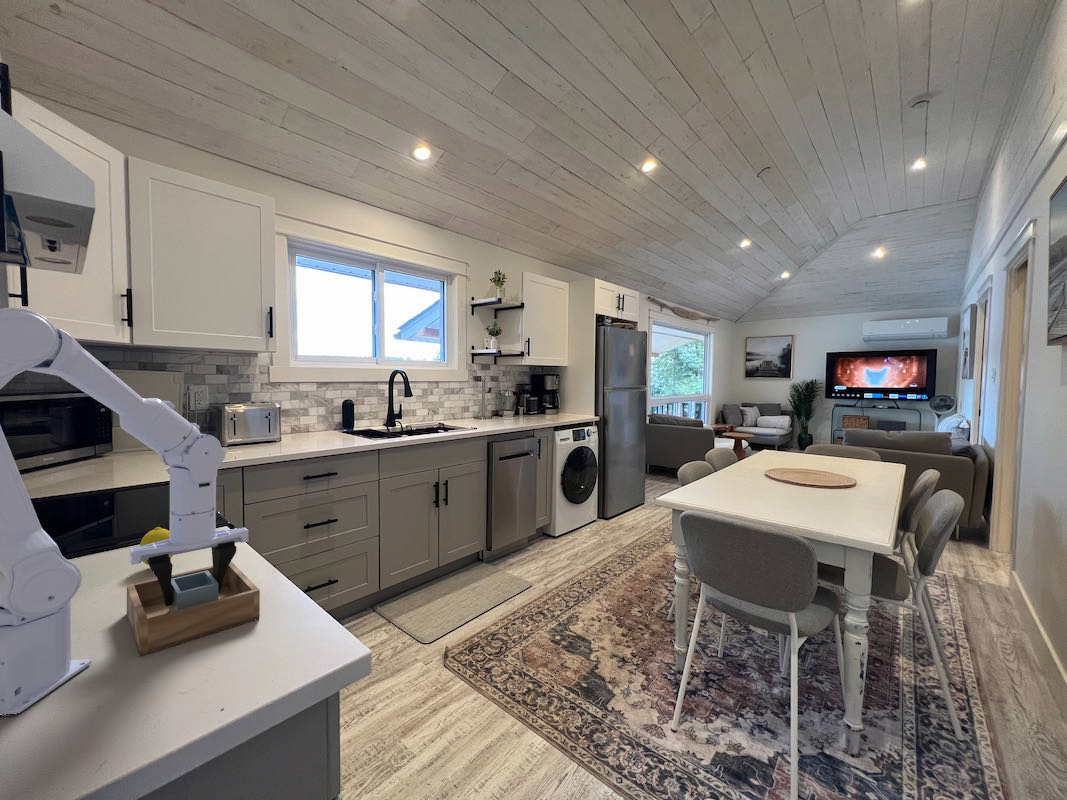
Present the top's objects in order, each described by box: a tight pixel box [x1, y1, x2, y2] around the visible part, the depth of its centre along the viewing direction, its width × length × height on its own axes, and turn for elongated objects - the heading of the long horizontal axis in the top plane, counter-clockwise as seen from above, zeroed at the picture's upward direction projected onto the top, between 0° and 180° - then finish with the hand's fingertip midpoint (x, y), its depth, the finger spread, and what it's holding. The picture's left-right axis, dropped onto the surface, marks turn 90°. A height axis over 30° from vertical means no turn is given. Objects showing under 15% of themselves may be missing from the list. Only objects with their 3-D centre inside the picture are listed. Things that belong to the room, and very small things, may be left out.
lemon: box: [139, 526, 174, 566], centre depth 88 cm, size 6×6×8 cm
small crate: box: [169, 570, 218, 612], centre depth 70 cm, size 7×5×5 cm
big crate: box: [126, 561, 261, 657], centre depth 70 cm, size 16×14×4 cm
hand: (192, 597), depth 70 cm, fingers open, 5 cm apart
